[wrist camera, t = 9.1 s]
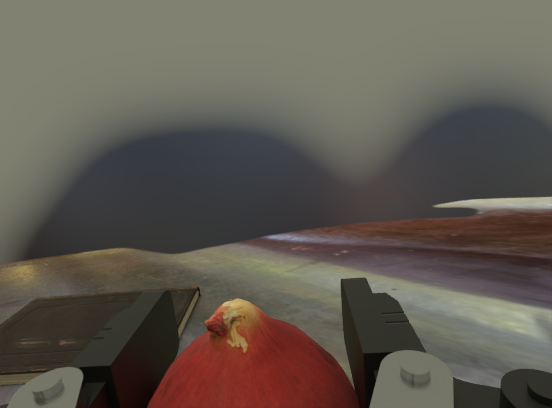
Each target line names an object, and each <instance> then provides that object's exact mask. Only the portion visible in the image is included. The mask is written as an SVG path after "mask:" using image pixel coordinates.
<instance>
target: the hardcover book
mask: <svg viewBox="0 0 552 408" xmlns="http://www.w3.org/2000/svg"><path fill="white" fill-rule="evenodd" d="M159 290H169V291H170V293H171V295H172V299H173V305H174V311H175V316H176V322H177V327H178V333H179V337H180V335H181V333H182V331H183V329H184V326H185V324H186V322H187V320H188V318H189V316H190V314H191V312H192V309H193V307H194V305H195V303H196V301H197V299H198V297H199V296H200V290H199V287H198V286H191V287H178V288H164V289H150V290H136V291H123V292H109V293H95V294H81V295H68V296H54V297H40V298H36V299H34V300H33V301H32V302H30V303H29V304H28V305H26V306H25V307H24V308H22V309H21V310H20V311H18V312H17V313H16V314H14V315H13V316H12V317H10V318H9V319H8V320H6V321H5V322H4V323H2V324H1V325H0V385H5V384H21V383H27V382H29V381H30V380H32V379H34V378H35V377H37V376H39V375H41V374H43V373H46V372H48V371H51V370H54V369H58V368H64V367H68V366H69V365H70V364H71V363H72V362H73V361H74V359H75V358H76V357H77V356H78V355H79V354H80V353H81V352H82V350H83V349H84V348H85V347H86V346H87V345H88V344H89V343H90V342H91V340H94V337H95V336H96V335H97V334H98V333H99V332H100V331H102V328H103V327H104V326H105V325H106V324H107V323H108V321H109V320H110V319H111V318H112V317H114V316H115V315H117V314H118V313H120V312H121V311H123V310H125V309H126V308H130V307H131V305H132V304H133V303H134V302H135V301H136V299H137V298H138V297H139V296H140V295H141V294H142V293H143V292H144V291H159Z"/></svg>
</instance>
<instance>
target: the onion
mask: <svg viewBox="0 0 552 408" xmlns="http://www.w3.org/2000/svg"><path fill="white" fill-rule="evenodd" d="M205 324H206V326H207V329H208V332H206V333H204V334H203V335H201V336H199V337H198V338H197V339H196V340H194V341H193V342H192V343H191V344H190V345H189V346H188V347H187V348H186V349H185V350H184V351H183V352H182V353H181V354H180V355H179V356H178V357H177V358H176V359H175V361H174V362H173V363H172V364H171V365H170V367H169V368H168V370H167V372H166V374H165V375H164V377H163V379H162V381H161V383H160V384H159V386H158V388H157V390H156V391H155V393H154V395H153V397H152V398H151V400H150V402H149V403H148V406H147V408H360V407H359V402H358V396H357V394H356V392H355V390H354V388H353V386H352V385H351V383H350V381H349V379H348V377H347V376H346V374H345V372H344V370H343V369H342V368H341V366H340V365H339V364H338V362H337V361H336V359H335V358H334V357H333V356H332V355H331V354H329V353H328V352H327V351H326V350H325V349H323V348H322V347H321V346H320V345H319V344H317V343H316V342H315V341H314V340H312V339H311V338H310V337H309V336H308V335H306V334H305V333H304V332H303V331H301V330H300V329H298V328H297V327H296V326H294V325H292V324H289V323H286V322H284V321H280V320H277V319H273V318H270V317H268V316H266V315H265V314H264V313H263V312H262V311H261V310H260V309H259V308H257V307H256V306H254V305H253V304H251V303H249V302H247V301H245V300H242V299H239V298H237V299H235V300H232V301H227V302H225V303H224V304H222V305H221V306H219V307H218V308H217V310H216V311H215V313H214V314H213V315H212V316H211V317H210V318H209V319H208V320H206V321H205Z"/></svg>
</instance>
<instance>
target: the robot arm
mask: <svg viewBox="0 0 552 408" xmlns="http://www.w3.org/2000/svg"><path fill="white" fill-rule="evenodd" d="M341 298H342V316H343V331H344V340H345V346H346V351H347V355H348V360H349V364H350V369H351V373H352V378H353V382H354V387H355V391H356V394H357V396H358V402H359V407H360V408H552V374H551V373H548V372H544V371H540V370H534V369H518V370H513V371H510V372H508V373H506V374H505V375H504V376H503V378H502V380H501V388H495V387H490V386H484V385H479V384H473V383H469V382H465V381H462V380H459V379H456V378H454V377H453V376H452V373H451V371H450V369H449V368H448V367H447V366H446V365H445V364H444V363H443V362H442V361H441V360H439V359H438V358H436V357H434V356H432V355H430V354H427V353H426V351H425V349H424V347H423V346H422V344H421V342H420V340H419V338H418V337H417V335H416V333H415V331H414V329H413V328H412V326H411V324H410V323H409V320H408V319H407V317H406V315H405V314H404V311H403V310H402V308H401V306H400V304H399V302H398V301H397V300H395V299H394V298H393V297H391V296H390V295H388V294H387V293H372V291H371V288H370V286H369V284H368V281H367V279H366V278H350V279H341ZM178 348H179V333H178V327H177V322H176V316H175V311H174V305H173V299H172V295H171V293H170V291H169V290H159V291H144V292H143V293H142V294H141V295H140V296H139V297H138V298H137V299H136V301H135V302H134V303H133V304H132V305H131V307H130V308H126V309H125V310H123V311H121V312H120V313H118V314H117V315H115V316H114V317H112V318H111V319H110V320H109V321H108V323H107V324H106V325H105V326H104V327H103V328H102V331H100V332H99V333H98V334H97V335H96V336H95V337H94V340H91V342H90V343H89V344H88V345H87V346H86V347H85V348H84V349H83V350H82V352H81V353H80V354H79V355H78V356H77V357H76V358H75V359H74V361H73V362H72V363H71V364H70V365H69V366H68V367H64V368H58V369H54V370H51V371H48V372H46V373H43V374H41V375H39V376H37V377H35V378H34V379H32V380H30V381H29V382H27V383H26V384H25V385H23V386H22V387H21V388H20V389H19V390H18V391H17V392H16V393H15V394H14V396H13V397H12V399H11V401H10V403H9V404H6V405H2V406H0V408H147V406H148V403H149V402H150V400H151V398H152V397H153V395H154V393H155V391H156V390H157V388H158V386H159V384H160V383H161V381H162V379H163V377H164V375H165V374H166V372H167V370H168V368H169V367H170V365H171V364H172V363H173V362H174V360H175V358H176V355H177V352H178Z"/></svg>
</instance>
